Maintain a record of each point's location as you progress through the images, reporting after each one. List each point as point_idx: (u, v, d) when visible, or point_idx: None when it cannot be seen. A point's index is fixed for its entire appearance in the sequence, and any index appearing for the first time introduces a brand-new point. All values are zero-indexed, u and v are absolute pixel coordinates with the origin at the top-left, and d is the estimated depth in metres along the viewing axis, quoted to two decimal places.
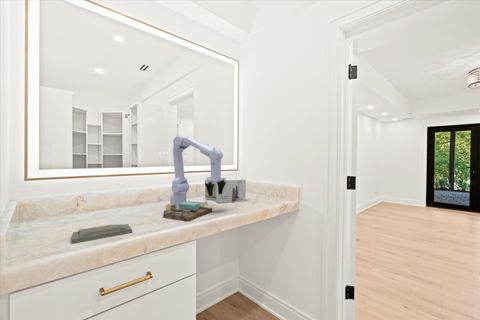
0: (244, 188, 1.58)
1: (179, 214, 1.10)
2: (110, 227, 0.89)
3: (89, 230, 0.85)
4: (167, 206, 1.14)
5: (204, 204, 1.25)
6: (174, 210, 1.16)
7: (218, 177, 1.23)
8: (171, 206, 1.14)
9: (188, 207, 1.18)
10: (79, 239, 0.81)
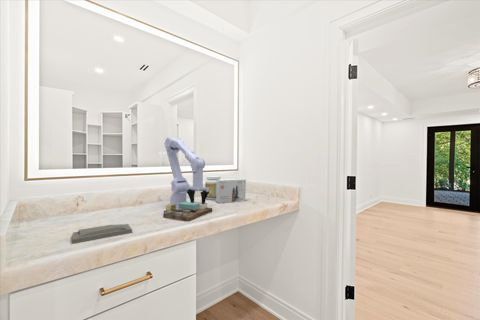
0: (244, 188, 1.58)
1: (179, 214, 1.10)
2: (110, 227, 0.89)
3: (89, 230, 0.85)
4: (167, 206, 1.14)
5: (204, 206, 1.25)
6: (174, 210, 1.16)
7: (194, 186, 1.25)
8: (171, 206, 1.14)
9: (188, 207, 1.18)
10: (79, 239, 0.81)
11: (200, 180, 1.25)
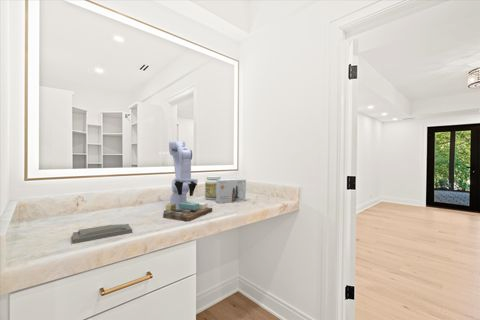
0: (244, 188, 1.58)
1: (179, 214, 1.10)
2: (110, 227, 0.89)
3: (89, 230, 0.85)
4: (167, 206, 1.14)
5: (204, 206, 1.25)
6: (174, 210, 1.16)
7: (181, 177, 1.22)
8: (171, 206, 1.14)
9: (188, 207, 1.18)
10: (79, 239, 0.80)
11: (188, 171, 1.22)
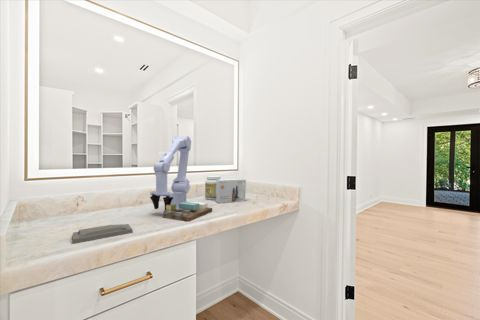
0: (244, 188, 1.58)
1: (179, 214, 1.10)
2: (110, 227, 0.89)
3: (89, 230, 0.85)
4: (167, 206, 1.14)
5: (204, 206, 1.25)
6: (174, 210, 1.16)
7: (157, 191, 1.16)
8: (171, 206, 1.14)
9: (188, 207, 1.18)
10: (80, 239, 0.80)
11: (163, 185, 1.16)
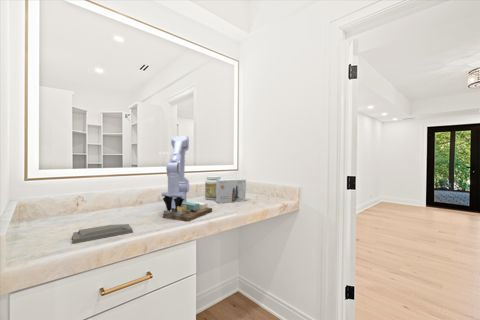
0: (244, 188, 1.58)
1: (179, 214, 1.10)
2: (111, 227, 0.89)
3: (90, 230, 0.85)
4: (178, 207, 1.11)
5: (204, 206, 1.25)
6: (185, 211, 1.13)
7: (169, 192, 1.13)
8: (182, 207, 1.11)
9: (188, 207, 1.18)
10: (80, 239, 0.80)
11: (175, 186, 1.13)
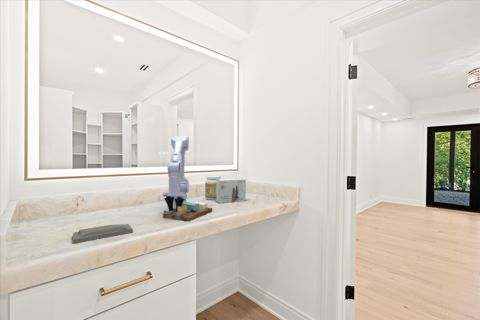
0: (244, 188, 1.58)
1: (179, 214, 1.10)
2: (111, 227, 0.89)
3: (90, 230, 0.85)
4: (179, 207, 1.11)
5: (204, 206, 1.25)
6: (186, 212, 1.13)
7: (170, 192, 1.13)
8: (183, 207, 1.11)
9: (188, 207, 1.18)
10: (80, 239, 0.80)
11: (177, 186, 1.13)
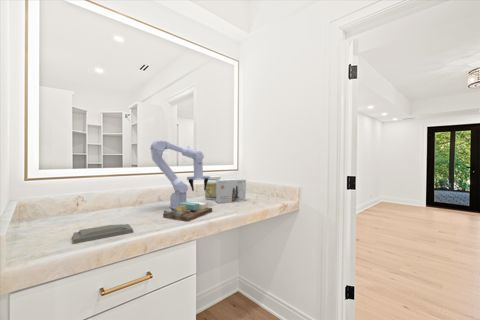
0: (244, 188, 1.58)
1: (179, 214, 1.10)
2: (111, 227, 0.89)
3: (90, 230, 0.85)
4: (178, 207, 1.11)
5: (204, 206, 1.25)
6: (185, 211, 1.13)
7: (197, 175, 1.40)
8: (182, 207, 1.11)
9: (188, 207, 1.18)
10: (80, 239, 0.80)
11: (202, 170, 1.42)
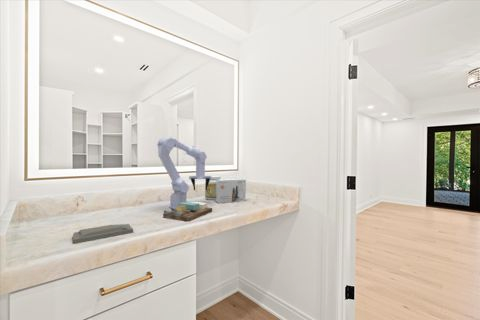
0: (244, 188, 1.58)
1: (179, 214, 1.10)
2: (111, 227, 0.89)
3: (90, 230, 0.85)
4: (178, 207, 1.11)
5: (204, 206, 1.25)
6: (185, 211, 1.13)
7: (200, 174, 1.44)
8: (182, 207, 1.11)
9: (188, 207, 1.18)
10: (80, 239, 0.80)
11: (204, 169, 1.47)
